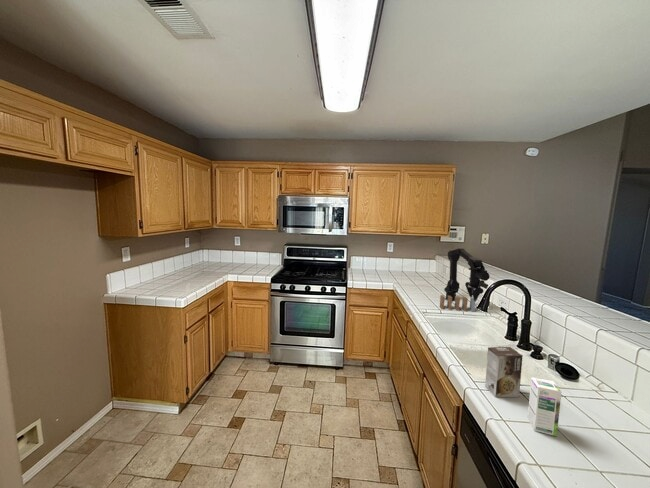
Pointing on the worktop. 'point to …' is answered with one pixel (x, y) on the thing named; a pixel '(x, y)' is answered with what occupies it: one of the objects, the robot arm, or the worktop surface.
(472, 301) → the domino
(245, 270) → the worktop surface
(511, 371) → the coffee box
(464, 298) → the domino
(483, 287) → the robot arm
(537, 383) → the syrup box
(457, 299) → the domino
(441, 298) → the domino
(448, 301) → the domino
